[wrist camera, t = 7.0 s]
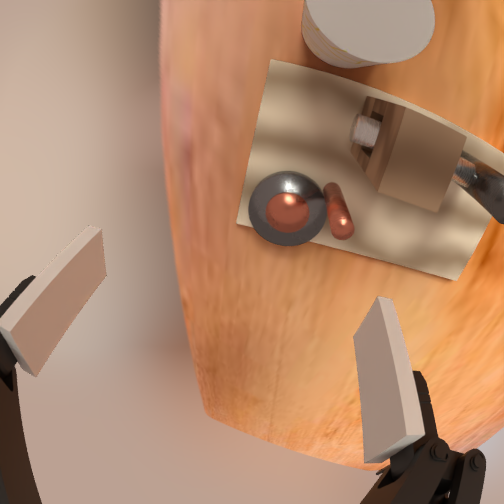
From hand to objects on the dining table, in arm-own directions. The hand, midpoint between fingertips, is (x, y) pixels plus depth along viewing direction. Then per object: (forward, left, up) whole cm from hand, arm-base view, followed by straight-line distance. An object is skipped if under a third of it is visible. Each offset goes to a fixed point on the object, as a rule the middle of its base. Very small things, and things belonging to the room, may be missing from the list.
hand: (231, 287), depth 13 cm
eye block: (-1, +13, -21) cm, 24 cm away
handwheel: (+4, +4, -19) cm, 20 cm away
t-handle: (-6, +14, -19) cm, 24 cm away
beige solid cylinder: (-15, +4, -21) cm, 26 cm away
